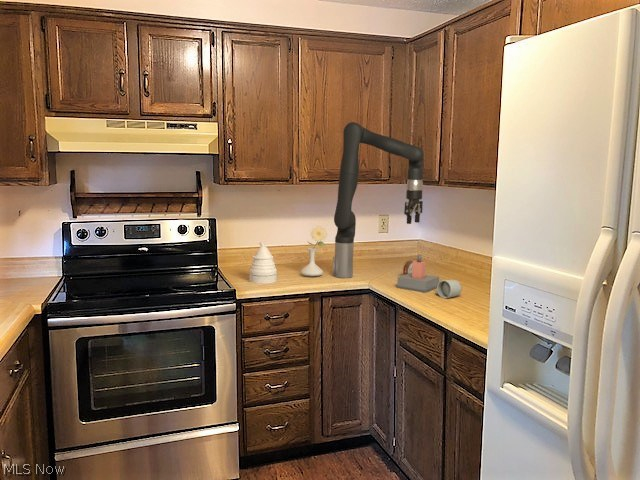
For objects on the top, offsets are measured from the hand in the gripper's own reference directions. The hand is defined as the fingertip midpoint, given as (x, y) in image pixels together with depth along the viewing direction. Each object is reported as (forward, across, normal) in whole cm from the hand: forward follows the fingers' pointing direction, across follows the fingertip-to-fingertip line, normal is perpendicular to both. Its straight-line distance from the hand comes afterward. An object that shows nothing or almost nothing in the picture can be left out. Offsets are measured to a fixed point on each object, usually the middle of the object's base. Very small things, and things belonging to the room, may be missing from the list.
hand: (413, 223), depth 257 cm
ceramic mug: (+28, +19, +27) cm, 44 cm away
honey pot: (+28, +48, -53) cm, 77 cm away
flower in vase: (+28, +23, -42) cm, 56 cm away
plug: (+27, +12, +10) cm, 31 cm away
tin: (+28, -10, -4) cm, 30 cm away
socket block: (+28, +12, +10) cm, 32 cm away
